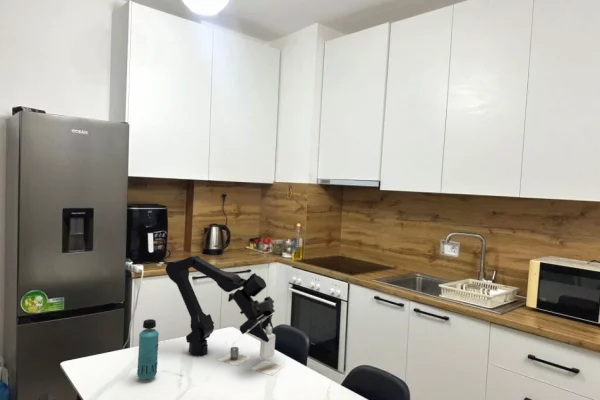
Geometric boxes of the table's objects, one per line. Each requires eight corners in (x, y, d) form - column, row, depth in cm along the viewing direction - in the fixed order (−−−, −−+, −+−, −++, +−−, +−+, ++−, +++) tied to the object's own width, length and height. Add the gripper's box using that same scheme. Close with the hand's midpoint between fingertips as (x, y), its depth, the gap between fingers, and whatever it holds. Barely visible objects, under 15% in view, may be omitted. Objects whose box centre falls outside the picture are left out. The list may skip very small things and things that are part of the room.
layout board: (212, 365, 150) (212, 362, 150) (230, 354, 161) (230, 351, 161) (268, 381, 140) (268, 378, 140) (284, 368, 151) (284, 365, 151)
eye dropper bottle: (275, 358, 146) (278, 325, 146) (260, 359, 144) (262, 325, 144) (273, 353, 150) (275, 321, 150) (258, 354, 149) (260, 321, 148)
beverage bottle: (137, 385, 132) (140, 324, 132) (135, 376, 138) (138, 318, 137) (158, 381, 135) (161, 322, 135) (155, 373, 141) (158, 316, 140)
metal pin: (228, 359, 153) (229, 348, 153) (233, 356, 156) (233, 346, 156) (235, 361, 152) (235, 350, 152) (239, 358, 155) (240, 347, 155)
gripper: (249, 296, 139) (276, 334, 136) (271, 285, 157) (296, 318, 153) (228, 315, 142) (254, 352, 139) (252, 302, 160) (275, 335, 156)
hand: (271, 338), depth 147 cm, fingers closed on eye dropper bottle, 5 cm apart
